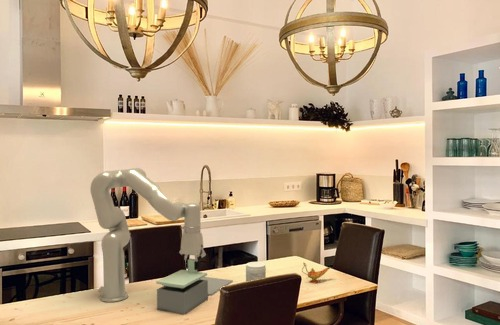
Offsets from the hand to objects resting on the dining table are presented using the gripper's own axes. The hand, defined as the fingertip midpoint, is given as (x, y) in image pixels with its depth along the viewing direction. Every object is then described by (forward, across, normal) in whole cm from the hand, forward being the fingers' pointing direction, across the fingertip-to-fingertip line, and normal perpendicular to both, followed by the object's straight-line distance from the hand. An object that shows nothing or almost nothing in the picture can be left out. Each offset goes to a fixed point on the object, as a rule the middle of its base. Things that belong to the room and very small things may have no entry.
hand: (192, 268), depth 196 cm
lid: (+3, 0, -8) cm, 9 cm away
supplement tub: (+14, +25, +17) cm, 33 cm away
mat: (+14, -5, +19) cm, 24 cm away
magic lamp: (+14, +47, +48) cm, 69 cm away
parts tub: (+14, 0, -8) cm, 16 cm away
